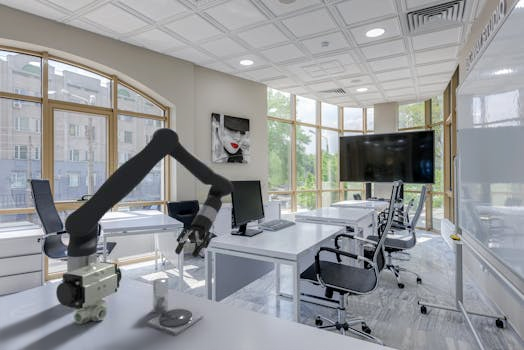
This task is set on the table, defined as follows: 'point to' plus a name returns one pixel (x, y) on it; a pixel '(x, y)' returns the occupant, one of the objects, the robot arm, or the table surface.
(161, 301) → the grey cylinder
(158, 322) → the flange
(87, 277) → the ball valve
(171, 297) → the table surface
